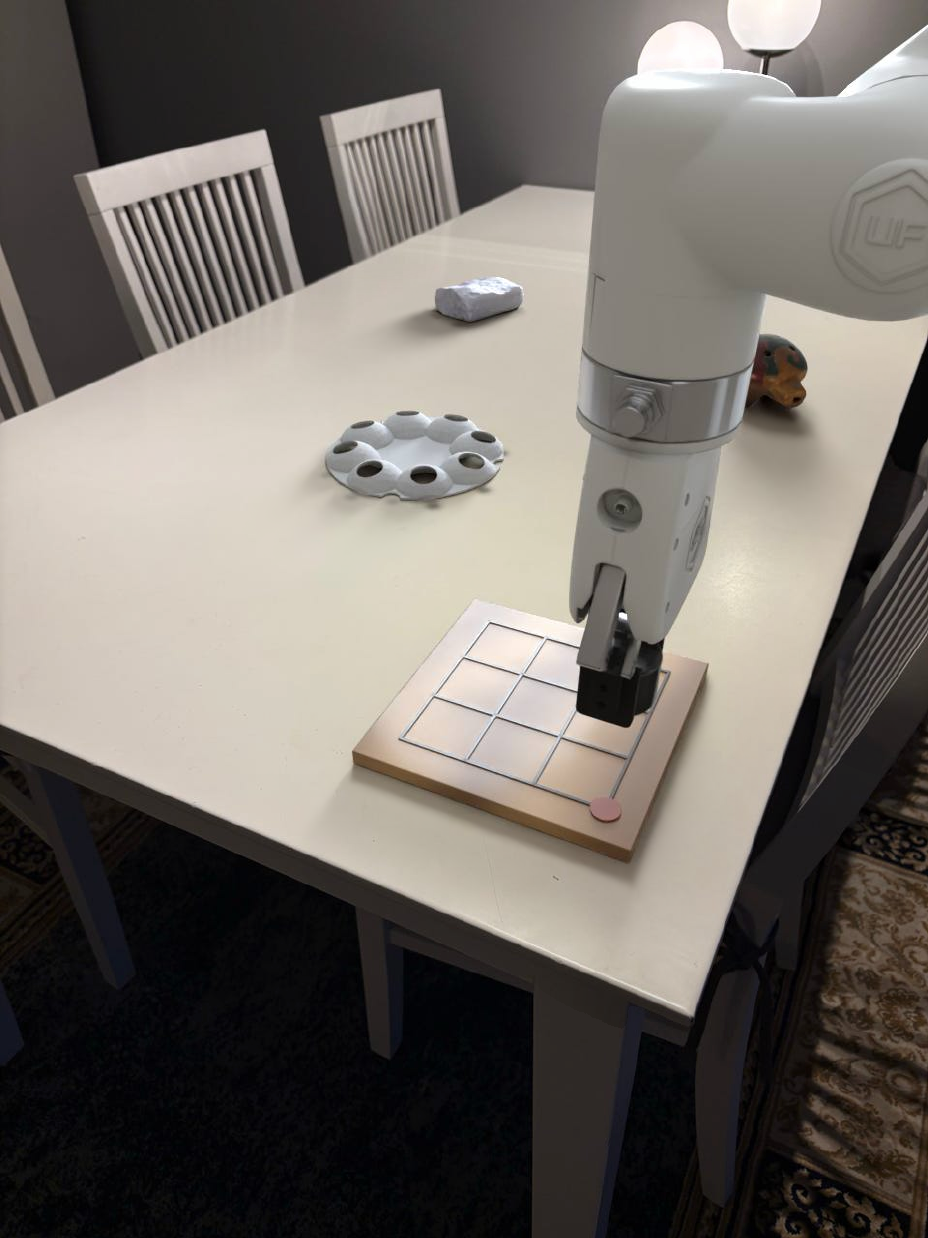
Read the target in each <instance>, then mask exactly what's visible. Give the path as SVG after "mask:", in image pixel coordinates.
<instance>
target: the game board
mask: <svg viewBox="0 0 928 1238" xmlns="http://www.w3.org/2000/svg"><path fill="white" fill-rule="evenodd" d="M584 630H585V628H583V627H580V626H576V625H572V624H570V623H565V622H561V621H557V620H554V619H551V618H547V617H544V616H540V615H536V614H532V613H529V612H525V611H522V610H518V609H516V608H515V609H514V608H511V607H507V606H503V605H500V604H497V603H493V602H489V601H485V600H482V599H479V598H473V600H472V601H471V602H470V603H469V605H468V606H467V607H466V608H465V609H464V611H463V612H462V613H461V614H460V616H459V617H458V618H457V619H456V621H455V622H454V624H453V625H452V626H450V628H449V629H448V631H447V632H446V633H445V635H444V636H443V637H442V638H441V639H440V641H439V642H438V643H437V644H436V646H435V647H434V648H433V649H432V651H431V652H430V653H429V655H428V656H427V657H426V658H425V659H424V660H423V662H422V663H421V664H420V666H419V667H418V668H417V669H416V671H415V672H414V673H413V674H412V675H411V677H410V678H409V679H408V681H407V682H406V683H405V684H404V685H403V687H402V688H401V689H400V691H399V692H398V693H397V694H396V695H395V697H394V698H393V699H392V701H391V702H390V703H389V704H388V706H386V708H385V709H384V711H382V712H381V714H380V716H378V718H377V719H376V720H375V722H373V724H372V725H371V726H370V728H369V729H368V730H367V732H366V733H365V734H364V735H363V737H362V738H361V739H360V740H359V742H358V743H357V744H356V745H355V746H354V748H353V749H352V750H351V755H352V756H351V757H352V763H353V764H356V765H359V766H361V767H364V768H366V769H369V770H372V771H374V772H377V773H380V774H383V775H386V776H388V777H391V778H394V779H397V780H399V781H402V782H405V783H408V784H410V785H413V786H416V787H419V788H421V789H424V790H427V791H430V792H432V793H435V794H437V795H440V796H442V797H446V798H449V799H451V800H454V801H457V802H460V803H463V804H465V805H468V806H470V807H473V808H476V809H479V810H482V811H484V812H488V813H490V814H493V815H494V816H495V815H496V816H499V817H501V818H503V819H506V820H509V821H512V822H514V823H516V824H520V825H523V826H526V827H528V828H531V829H534V830H537V831H539V832H541V833H544V834H547V835H549V836H553V837H556V838H558V839H561V840H564V841H567V842H569V843H572V844H575V845H577V846H580V847H583V848H585V849H588V850H591V851H594V852H596V853H599V854H602V855H605V856H608V857H611V858H614V859H617V860H618V861H622V862H624V863H626V864H629V863H630V862H631V861H632V857H633V855H634V852H635V851H636V848H637V846H638V844H639V840H640V839H641V836H642V833H643V831H644V828H645V826H646V825H647V822H648V819H649V816H650V814H651V812H652V810H653V807H654V804H655V801H656V799H657V797H658V794H659V792H660V790H661V787H662V785H663V783H664V780H665V777H666V775H667V773H668V770H669V768H670V765H671V764H672V763H671V762H672V760H673V758H674V755H675V753H676V750H677V749H678V746H679V743H680V741H681V739H682V736H683V734H684V731H685V729H686V726H687V724H688V721H689V720H690V719H689V718H690V716H691V714H692V711H693V709H694V706H695V704H696V702H697V699H698V697H699V695H700V692H701V689H702V687H703V685H704V682H705V680H706V677H707V675H708V671H709V665H710V663H709V662H706V661H702V660H699V659H695V658H691V657H688V656H684V655H680V654H677V653H674V652H670V651H667V650H663V652H662V653H663V661H662V667H661V673H660V678H659V684H658V690H657V695H656V700H655V702H654V704H653V706H652V707H651V708H650V709H649V710H647V711H646V712H644V713H642V714H640V715H637V716H634V720H633V722H632V724H631V726H630V727H629V728H623V727H620V726H617V725H614V724H610V723H607V722H604V721H601V720H598V719H595V718H592V717H588V716H585V715H582V714H580V713H579V712H578V711H577V710H576V701H577V691H578V682H579V672H580V665H577V664H576V660H577V655H578V651H579V648H580V644H581V640H582V637H583V633H584Z"/></svg>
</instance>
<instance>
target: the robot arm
mask: <svg viewBox="0 0 928 1238" xmlns="http://www.w3.org/2000/svg"><path fill="white" fill-rule="evenodd" d="M592 206H593V207H592V217H591V230H590V241H589V242H590V243H589V255H588V264H587V265H588V269H587V279H586V293H585V302H584V303H585V304H584V314H583V315H584V316H583V327H582V329H583V330H582V337H581V338H582V340H581V342H582V343H581V352H580V362H579V363H580V365H579V374H578V375H579V377H578V389H577V398H576V399H577V401H576V407H575V409H576V410H575V417H576V420H577V423H578V424H579V425H580V426H581V428H582V429H583V430H584V431H585V432H587V433H588V434H589V435H590V439H589V444H588V450H587V455H586V461H585V466H584V473H583V475H582V485H581V490H580V496H579V497H580V498H579V505H578V510H577V511H578V512H577V518H576V525H575V532H574V541H573V549H572V557H571V566H570V577H569V591H568V609H569V613H570V616H571V618H572V620H573V621H574V622H575V624H580V623H582V622H584V621H585V619H586V623H585V626H584V629H585V630H584V633H583V637H582V640H581V644H580V648H579V651H578V655H577V660H576V664H577V665H580V672H579V682H578V691H577V701H576V710H577V711H578V712H579V713H580V714H582V715H585V716H588V717H592V718H595V719H598V720H601V721H604V722H607V723H610V724H614V725H617V726H620V727H623V728H629V727H630V726H631V724H632V722H633V720H634V716H635V709H636V703H637V697H638V691H639V684H640V678H641V672H642V669H641V668H638V667H636V665H637V660H638V655H639V651H640V646H641V641H645V642H648V644H655V643H658V644H659V646H660V648H661V650H662V652H663V651H664V646H665V640H666V637H667V636H668V634H669V633H670V631H671V629H672V627H673V625H674V624H675V621H676V619H677V618H678V616H679V614H680V611H681V609H682V608H683V605H684V603H685V601H686V600H687V597H688V595H689V593H690V592H691V589H692V588H693V585H694V582H695V581H696V578H697V577H698V574H699V572H700V570H701V567H702V565H703V562H704V559H705V556H706V552H707V548H708V543H709V541H708V540H709V535H710V529H711V521H712V515H713V514H712V513H713V508H714V502H715V501H714V500H715V493H716V488H717V483H718V475H719V467H720V462H721V454H722V447H723V446H724V445H726V444H730V443H731V442H732V441H733V440H734V439H736V438H737V436H738V434H739V433H740V431H741V426H742V420H743V417H744V412H745V407H746V406H745V403H746V398H747V393H748V388H749V383H750V378H751V373H752V368H753V363H754V357H755V354H756V349H757V344H758V339H759V334H761V328H762V323H763V320H764V319H763V318H764V313H765V308H766V305H767V299H768V296H771V297H774V298H778V299H781V300H784V301H788V302H791V303H794V304H798V305H801V306H804V307H808V308H810V309H814V310H819V311H821V312H825V313H829V314H832V315H837V316H841V317H844V318H848V319H853V320H861V321H867V322H901V321H908V320H912V319H917V318H922V317H925V316H928V24H926V26H924V27H923V28H921V29H920V30H919V31H917V32H916V33H915V34H913V35H912V36H910V37H909V38H908V39H907V40H906V41H904V42H903V43H901V44H900V45H899V46H897V47H896V48H894V49H893V50H892V51H891V52H889V53H888V54H887V55H885V56H883V58H882V59H880V60H879V61H877V62H876V63H875V64H873V65H872V66H870V68H868V69H867V70H866V71H865V72H864V73H862V74H861V75H860V76H859V77H857V78H856V79H855V80H854V81H852V82H851V83H850V84H849V85H847V87H846V88H845V89H844V90H843V91H842V92H841V93H840V94H838V95H836V96H835V95H832V96H796V93H795V92H794V91H793V90H792V89H791V87H790V86H789V85H788V84H787V83H784V82H783V81H781V80H779V79H777V78H775V77H772V76H769V75H765V74H759V73H754V72H749V71H743V70H742V71H741V70H735V69H733V70H732V69H720V68H670V69H660V70H651V71H646V72H641V73H637V74H635V75H632V76H630V77H627V78H626V79H624V80H623V81H621V82H620V83H619V84H618V85H616V86H615V88H614V89H613V90H612V92H611V93H610V95H609V97H608V99H607V101H606V104H605V105H604V108H603V111H602V114H601V122H600V129H599V138H598V148H597V158H596V171H595V184H594V195H593V205H592ZM586 617H587V618H586ZM615 631H616V632H620V633H623V634H627V635H628V638H627V643H626V648H625V652H624V651H623V650H622V649H621V648H618V647H614V646H612V640H613V636H614V633H615Z"/></svg>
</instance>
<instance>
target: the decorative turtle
mask: <svg viewBox="0 0 928 1238" xmlns="http://www.w3.org/2000/svg"><path fill="white" fill-rule="evenodd" d="M808 369H809V368H808V362H807V359H806V357H805V355H804V354H803V352H802V351H801V350H800V349H799V348H798V346H796V345H795V344H794V343H793V342H792V341H790V340H789V339H787V338H785V337H783V336H780V335H777V334H774V333H760V334H759V339H758V344H757V349H756V354H755V357H754V363H753V368H752V373H751V378H750V383H749V388H748V393H747V398H746V403H745V407H752V406H754V405H755V404H756V403H757V402H758V401H759V400H761V398H762V397H763V396H767V397H769V398H770V399H772V400H774V401H775V402H776V403H778V404H780V405H781V406H783V407H784V408H787V409H793V408H798V407H799V406H800V405H801V404H803V402H804V401H805V399H806V397H807V390H806V388H805V387H804V385H803V384H802V382H803V380H804V379H805V378H806V376H807V374H808Z"/></svg>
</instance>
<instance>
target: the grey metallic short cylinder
mask: <svg viewBox="0 0 928 1238" xmlns="http://www.w3.org/2000/svg"><path fill="white" fill-rule="evenodd" d="M627 638H628V635H627V634H623V633H620V632H616V631H615V633H614V636H613V640H612V646H614V647H618V648H621V649H622V650H623V651H624V652H625V648H626V643H627ZM662 661H663V653H662V650H661V648H660V646H659V644H658V643H655V644H648V642H645V641H641V646H640V651H639V655H638V660H637V665H636V667H638V668H641V669H642V672H641V678H640V684H639V691H638V697H637V703H636V709H635V716H637V715H640V714H642V713H644V712H646V711H647V710H649V709H650V708H651V707H652V706H653V704H654V702H655V700H656V695H657V690H658V684H659V678H660V673H661V667H662Z"/></svg>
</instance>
